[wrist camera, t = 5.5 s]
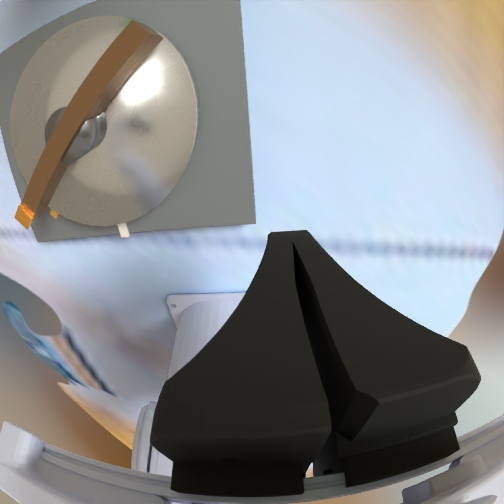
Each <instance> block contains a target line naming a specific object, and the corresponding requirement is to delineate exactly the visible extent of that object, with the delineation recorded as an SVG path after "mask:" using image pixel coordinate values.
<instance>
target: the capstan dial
mask: <svg viewBox="0 0 504 504" xmlns="http://www.w3.org/2000/svg"><path fill="white" fill-rule="evenodd" d="M199 123H200V103H199V94H198V90H197V85H196V81H195V78H194V76H193V73H192V70H191V68H190V66H189V64H188V62H187V60H186V59H185V57H184V55H183V54H182V53H181V51H180V50H179V49H178V47H177V46H176V45H175V44H174V43H173V42H172V41H171V40H170V39H169V38H168V37H167V36H166V35H164V34H163V33H161V32H160V31H158V30H157V29H155V28H153V27H151V26H149V25H147V24H144V23H142V22H139V21H137V20H134V19H130V18H126V17H121V16H108V15H107V16H96V17H91V18H87V19H83V20H80V21H77V22H75V23H73V24H70V25H68V26H67V27H65V28H63V29H61V30H60V31H58V32H57V33H55V34H54V35H53V36H52V37H50V38H49V39H48V40H47V41H46V42H45V43H44V44H43V45H42V46H41V47H40V48H39V49H38V50H37V51H36V52H35V54H34V55H33V56H32V58H31V59H30V60H29V62H28V64H27V65H26V67H25V69H24V70H23V72H22V74H21V77H20V79H19V81H18V84H17V87H16V90H15V93H14V96H13V101H12V106H11V115H10V134H11V142H12V147H13V152H14V156H15V159H16V162H17V164H18V167H19V169H20V171H21V173H22V175H23V177H24V179H25V181H26V182H27V184H28V187H27V189H26V192H25V194H24V197H23V200H22V203H21V205H20V206H18V209H17V212H16V215H15V218H16V219H17V220H18V221H19V222H20V223H21V224H22V225H23V226H24V227H25V228H26V229H28V228H29V227H30V226H31V225H32V224H33V223H34V222H35V221H36V220H37V219H38V218H39V217H40V216H41V215H42V214H43V213H44V212H45V211H46V209H47V207H49V208H50V209H52V210H53V211H55V212H56V213H58V214H60V215H61V216H63V217H65V218H67V219H70V220H72V221H75V222H78V223H81V224H86V225H91V226H112V225H118V224H123V223H126V222H129V221H132V220H135V219H137V218H139V217H141V216H142V215H144V214H146V213H148V212H149V211H150V210H152V209H153V208H155V207H156V206H157V205H158V204H159V203H160V202H161V201H162V200H164V199H165V198H166V197H167V195H168V194H169V193H170V192H171V190H172V189H173V188H174V187H175V185H176V183H177V182H178V180H179V179H180V177H181V175H182V174H183V172H184V171H185V169H186V167H187V165H188V163H189V161H190V159H191V156H192V154H193V151H194V148H195V145H196V142H197V136H198V131H199Z"/></svg>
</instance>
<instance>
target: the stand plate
mask: <svg viewBox="0 0 504 504" xmlns="http://www.w3.org/2000/svg"><path fill="white" fill-rule="evenodd" d="M107 15H108V16H121V17H126V18H130V19H134V20H137V21H139V22H142V23H144V24H147V25H149V26H151V27H153V28H155V29H157V30H158V31H160V32H161V33H163V34H164V35H166V36H167V37H168V38H169V39H170V40H171V41H172V42H173V43H174V44H175V45H176V46H177V47H178V49H179V50H180V51H181V53H182V54H183V55H184V57H185V59H186V60H187V62H188V64H189V66H190V68H191V70H192V73H193V76H194V78H195V81H196V85H197V90H198V94H199V103H200V123H199V131H198V136H197V142H196V145H195V148H194V151H193V154H192V156H191V159H190V161H189V163H188V165H187V167H186V169H185V171H184V172H183V174H182V175H181V177H180V179H179V180H178V182H177V183H176V185H175V187H174V188H173V189H172V190H171V192H170V193H169V194H168V195H167V197H166V198H165V199H164V200H162V201H161V202H160V203H159V204H158V205H157V206H156V207H155V208H153V209H152V210H150V211H149V212H148V213H146V214H144V215H142V216H141V217H139V218H137V219H135V220H132V221H129V222H126V223H123V224H118V225H112V226H91V225H86V224H81V223H78V222H75V221H72V220H70V219H67V218H65V217H63V216H61V215H60V214H58V213H56V212H55V211H53V210H52V209H50V208H49V207H47V209H46V211H45V212H44V213H43V214H42V215H41V216H40V217H39V218H38V219H37V220H36V221H35V222H34V223H33V224H32V225H31V227H32V230H33V232H34V234H35V237H36V239H37V241H38V242H45V241H54V240H63V239H72V238H82V237H92V236H102V235H112V234H120V235H121V238H123V237H129V236H130V234H129V233H134V232H146V231H158V230H171V229H184V228H198V227H212V226H228V225H244V224H256V216H255V199H254V184H253V169H252V155H251V140H250V126H249V112H248V98H247V84H246V71H245V57H244V44H243V31H242V18H241V6H240V0H97V1H94V2H92V3H89V4H87V5H85V6H82V7H80V8H78V9H76V10H74V11H71V12H69V13H67V14H65V15H63V16H61V17H59V18H57V19H55V20H54V21H52V22H50V23H48V24H46V25H44V26H43V27H41V28H39V29H37V30H36V31H34V32H32V33H31V34H29V35H27V36H26V37H24V38H23V39H21V40H20V41H18V42H17V43H15V44H14V45H12V46H11V47H9V48H8V49H6V50H5V51H3V52H2V53H1V54H0V126H1V131H2V136H3V140H4V144H5V149H6V153H7V156H8V160H9V164H10V167H11V171H12V174H13V177H14V180H15V184H16V187H17V190H18V193H19V196H20V198H21V201H22V200H23V197H24V194H25V192H26V189H27V187H28V184H27V182H26V181H25V179H24V177H23V175H22V173H21V171H20V169H19V167H18V164H17V162H16V159H15V156H14V152H13V147H12V142H11V134H10V115H11V106H12V101H13V96H14V93H15V90H16V87H17V84H18V81H19V79H20V77H21V74H22V72H23V70H24V69H25V67H26V65H27V64H28V62H29V60H30V59H31V58H32V56H33V55H34V54H35V52H36V51H37V50H38V49H39V48H40V47H41V46H42V45H43V44H44V43H45V42H46V41H47V40H48V39H49V38H50V37H52V36H53V35H54V34H55V33H57V32H58V31H60V30H61V29H63V28H65V27H67V26H68V25H70V24H73V23H75V22H77V21H80V20H83V19H87V18H91V17H96V16H107Z"/></svg>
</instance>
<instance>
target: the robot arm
mask: <svg viewBox="0 0 504 504" xmlns="http://www.w3.org/2000/svg"><path fill="white" fill-rule="evenodd" d="M166 301H167V304H168V307H169V310H170V313H171V315H172V318H173V321H174V323H175V326H176V328H177V332H176V337H175V341H174V346H173V351H172V356H171V361H170V366H169V371H168V376H167V381H166V382H165V384H164V386H163V388H162V391H161V393H160V396H159V399H158V402H157V403H156V402H149V404H148V405H146V406H144V407H143V408H142V409H141V412H140V414H139V418H138V422H137V426H136V431H135V436H134V443H133V450H132V465H131V467H132V469H127V468H123V467H119V466H114V465H111V464H107V463H103V462H99V461H96V460H93V459H89V458H86V457H83V456H80V455H77V454H74V453H71V452H68V451H65V450H63V449H60V448H57V447H55V446H52V445H50V444H47V443H45V442H43V441H42V440H41V439H40V438H38V437H37V436H35V435H34V434H32V433H30V432H29V431H27V430H25V429H23V428H21V427H19V426H16V425H14V424H12V423H10V422H8V421H4V423H3V426H2V430H1V433H0V489H1V490H3V491H4V492H5V493H7V494H8V495H9V496H11V497H12V498H13V499H15V500H16V501H18V502H19V503H20V504H288V503H299V502H309V501H317V500H323V499H330V498H336V497H341V496H347V495H352V494H356V493H361V492H365V491H369V490H373V489H377V488H381V487H385V486H388V485H392V484H395V483H398V482H401V481H404V480H407V479H410V478H413V477H416V476H419V475H422V474H424V473H427V472H430V471H432V470H435V469H437V468H439V467H442V466H444V465H446V464H449V463H451V462H452V463H451V465H450V466H449V469H448V470H447V471H445V472H443V473H440V474H438V475H436V476H434V477H431V478H429V479H427V480H425V481H423V482H420V483H418V484H416V485H413V486H411V487H408V488H405V489H403V491H402V496H403V503H401V504H504V414H503V415H502V416H500V417H498V418H496V419H494V420H493V421H491V422H489V423H487V424H485V425H483V426H481V427H479V428H477V429H476V430H473V431H471V432H469V433H467V434H465V435H462V436H460V437H458V438H457V437H456V433H455V430H454V427H453V426H455V425H456V424H457V423H458V420H457V416H456V413H455V411H456V410H457V409H458V408H459V407H460V406H461V405H462V404H463V403H464V402H465V401H466V400H467V399H468V398H469V397H470V396H471V395H472V394H473V393H474V391H475V390H476V389H477V387H478V385H479V383H480V381H481V376H480V373H479V371H478V369H477V367H476V365H475V362H474V360H473V358H472V356H471V354H470V352H469V350H468V349H467V347H466V346H465V345H462V344H460V343H458V342H456V341H453V340H451V339H449V338H447V337H444V336H442V335H440V334H437V333H435V332H433V331H431V330H429V329H428V328H426V327H424V326H422V325H420V324H418V323H416V322H415V321H413V320H411V319H409V318H408V317H406V316H404V315H403V314H401V313H399V312H398V311H396V310H395V309H393V308H392V307H390V306H389V305H387V304H386V303H384V302H383V301H381V300H380V299H378V298H377V297H376V296H375V295H373V294H372V293H371V292H369V291H368V290H367V289H365V288H364V287H363V286H362V285H360V284H359V283H358V282H357V281H356V280H354V279H353V278H352V277H351V276H350V275H349V274H348V273H347V272H346V271H345V270H344V269H343V268H342V267H341V266H340V265H339V264H338V263H337V262H336V261H335V260H334V259H333V258H332V257H331V256H330V255H329V254H328V253H327V252H326V251H325V250H324V249H323V248H322V247H321V245H320V244H319V243H318V242H317V241H316V240H315V239H314V237H313V236H312V235H311V234H310V233H309V232H308V231H307V230H299V231H283V232H271V233H270V234H269V235H268V240H267V245H266V249H265V252H264V255H263V258H262V260H261V263H260V265H259V268H258V270H257V272H256V274H255V276H254V278H253V280H252V282H251V284H250V286H249V288H248V290H247V291H246V292H240V293H215V294H182V295H169V296H168V297H167V299H166ZM173 304H175V305H173ZM311 463H313V477H310V478H305V477H306V471H307V469H308V468H309V466H310V464H311Z"/></svg>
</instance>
